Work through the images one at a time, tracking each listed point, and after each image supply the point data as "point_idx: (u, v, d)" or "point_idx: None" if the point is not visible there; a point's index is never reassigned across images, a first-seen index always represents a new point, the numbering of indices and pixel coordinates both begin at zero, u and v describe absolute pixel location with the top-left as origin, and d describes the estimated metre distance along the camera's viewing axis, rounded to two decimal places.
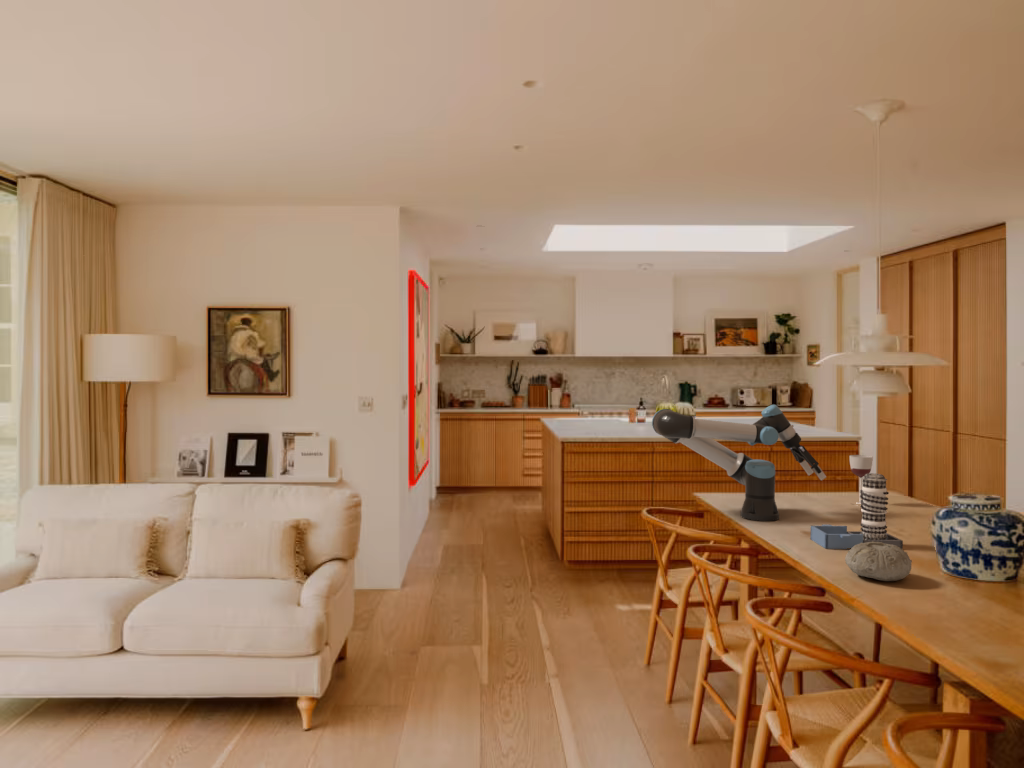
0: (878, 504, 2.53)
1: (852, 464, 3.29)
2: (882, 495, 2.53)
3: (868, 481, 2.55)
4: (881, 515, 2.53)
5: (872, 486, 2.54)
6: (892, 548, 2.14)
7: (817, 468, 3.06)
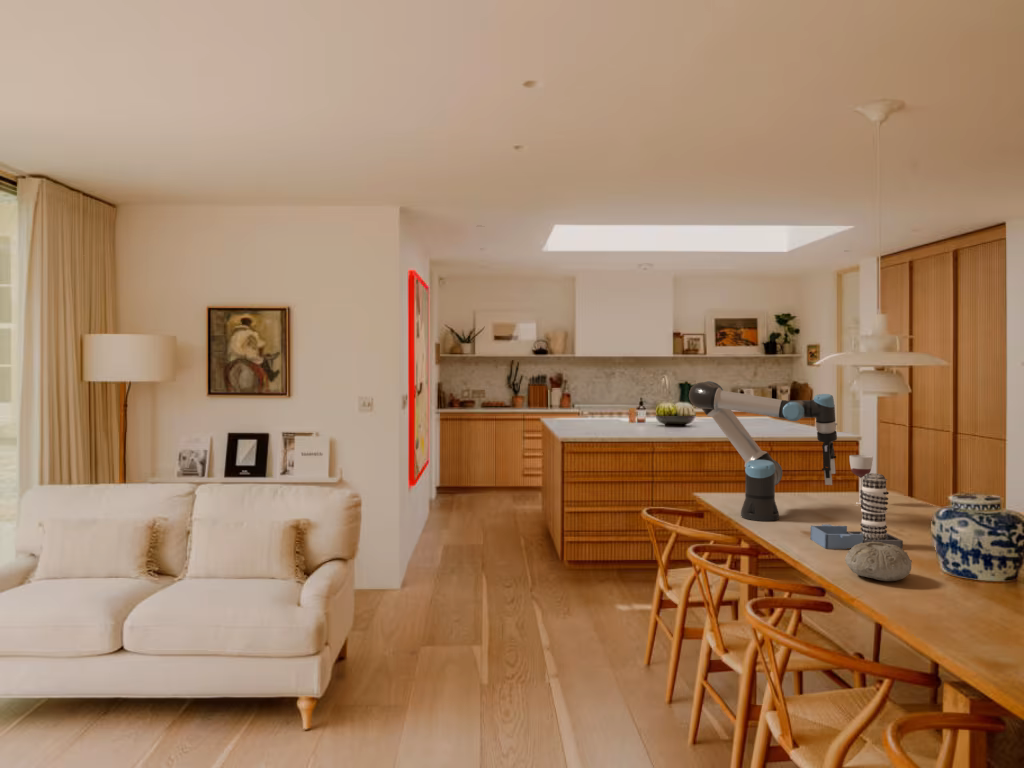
0: (878, 504, 2.53)
1: (852, 464, 3.29)
2: (882, 495, 2.53)
3: (868, 481, 2.55)
4: (881, 515, 2.53)
5: (872, 486, 2.54)
6: (892, 548, 2.14)
7: (827, 473, 2.98)
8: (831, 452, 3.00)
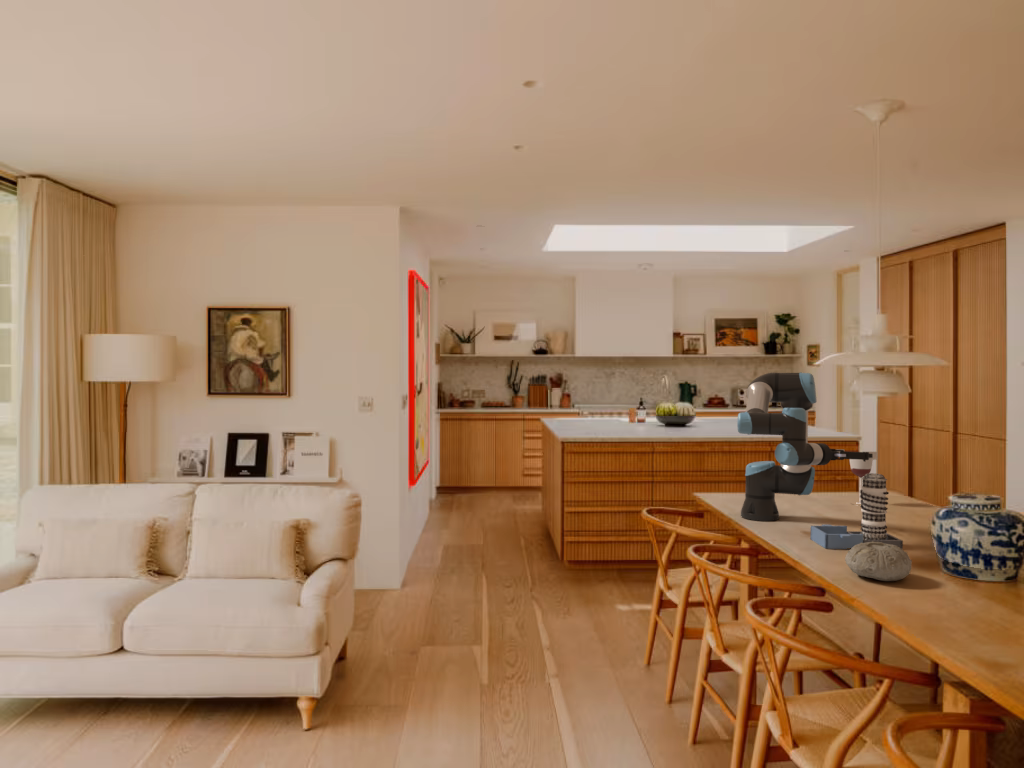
0: (878, 504, 2.53)
1: (852, 464, 3.29)
2: (882, 495, 2.53)
3: (868, 481, 2.55)
4: (881, 515, 2.53)
5: (872, 486, 2.54)
6: (892, 548, 2.14)
7: None
8: None
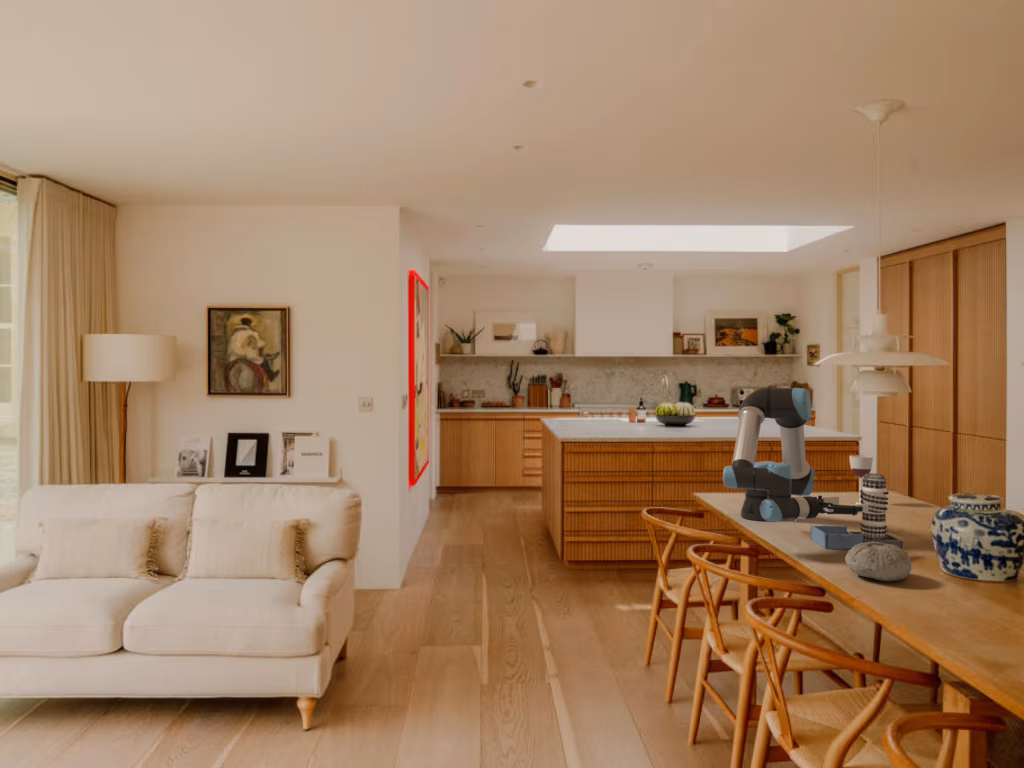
0: (878, 504, 2.53)
1: (852, 464, 3.29)
2: (882, 495, 2.53)
3: (868, 481, 2.55)
4: (881, 515, 2.53)
5: (872, 486, 2.54)
6: (892, 548, 2.14)
7: None
8: None
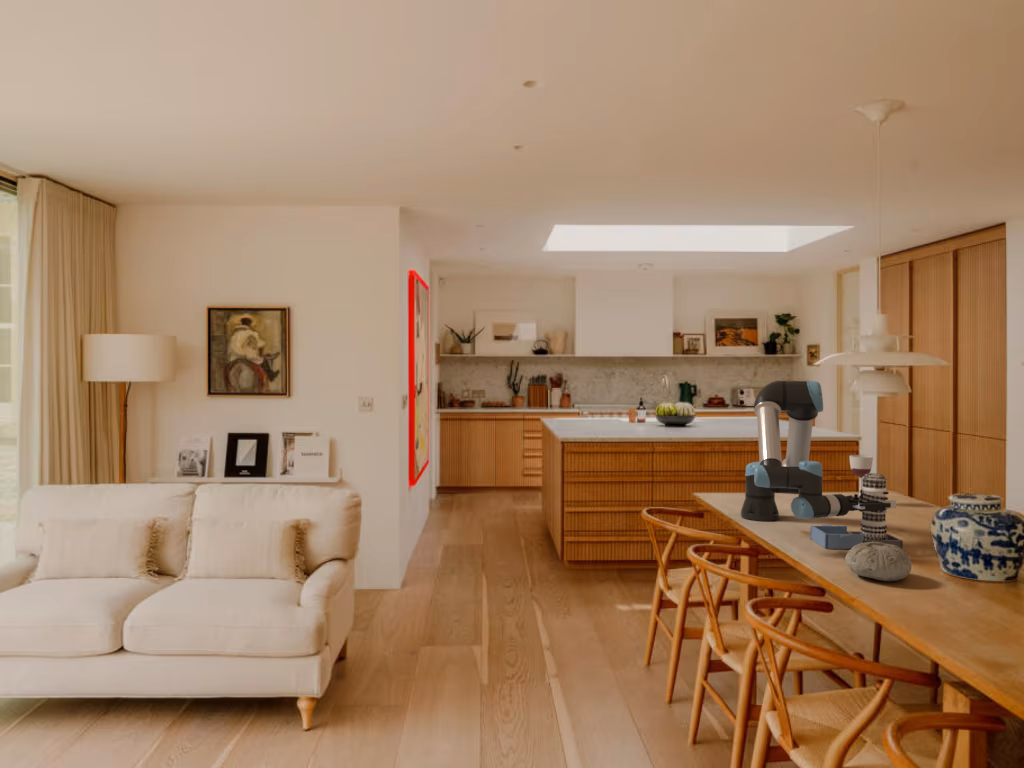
0: None
1: (852, 464, 3.29)
2: (882, 495, 2.53)
3: (868, 481, 2.55)
4: (881, 515, 2.53)
5: (872, 486, 2.54)
6: (892, 548, 2.14)
7: None
8: None
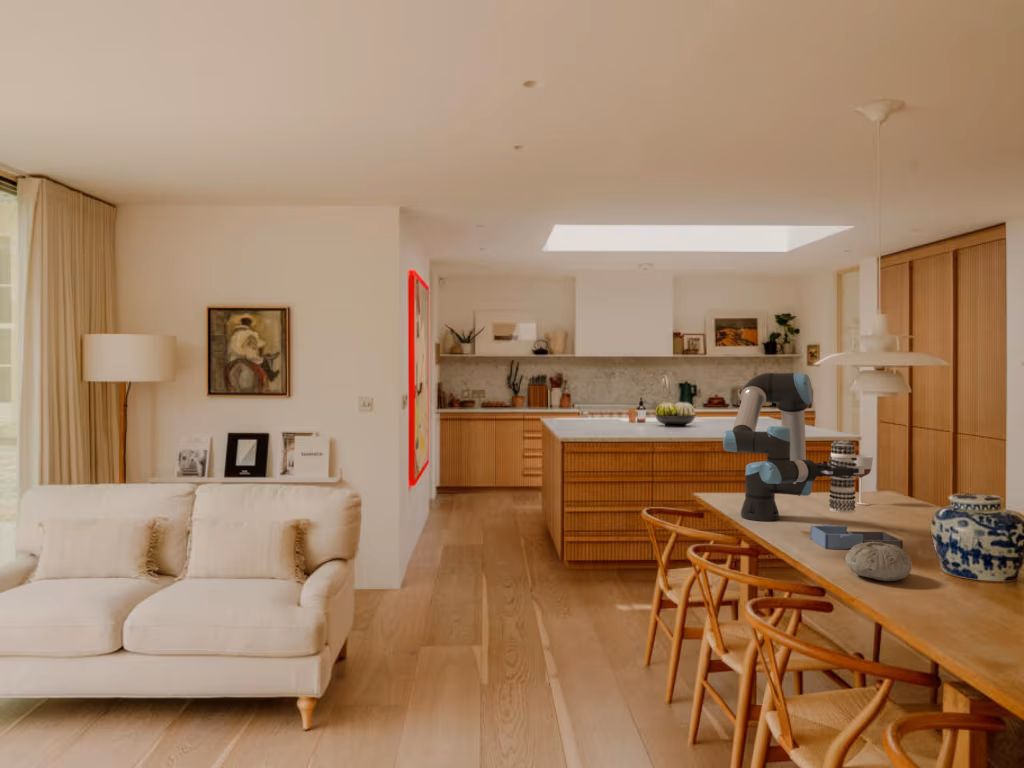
0: None
1: None
2: (850, 461, 2.53)
3: (836, 447, 2.55)
4: (849, 481, 2.53)
5: (840, 452, 2.54)
6: (892, 548, 2.14)
7: None
8: None
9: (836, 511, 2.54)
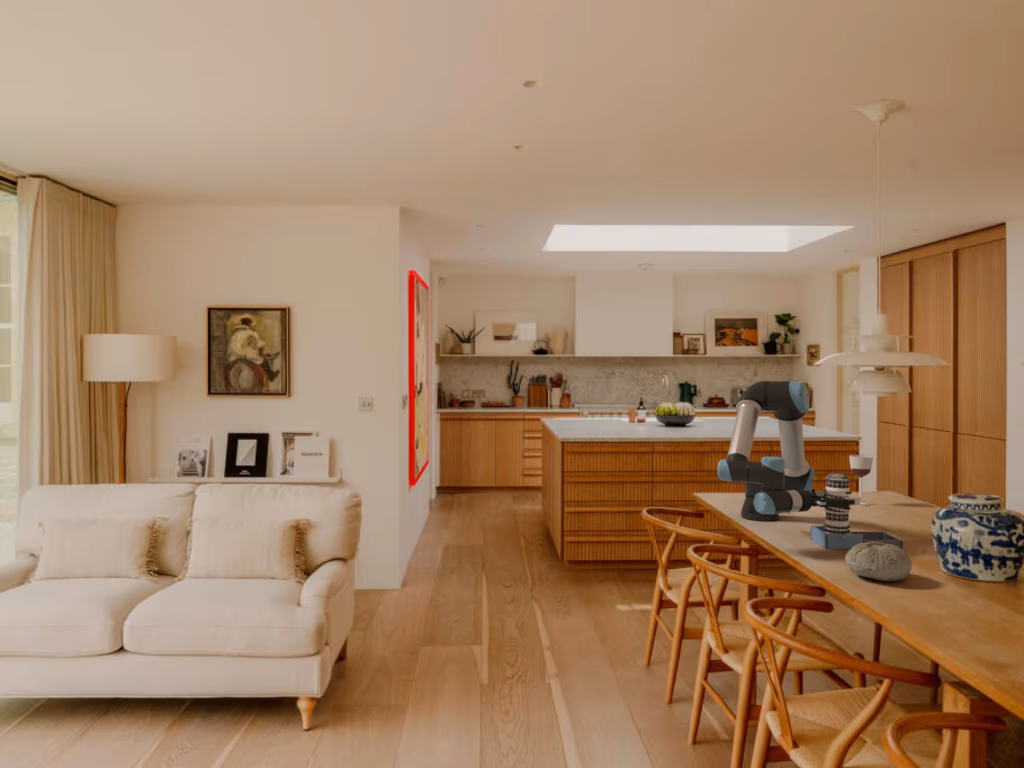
0: None
1: (852, 464, 3.29)
2: (845, 495, 2.54)
3: (831, 481, 2.55)
4: (844, 515, 2.54)
5: (835, 486, 2.54)
6: (892, 548, 2.14)
7: None
8: None
9: None
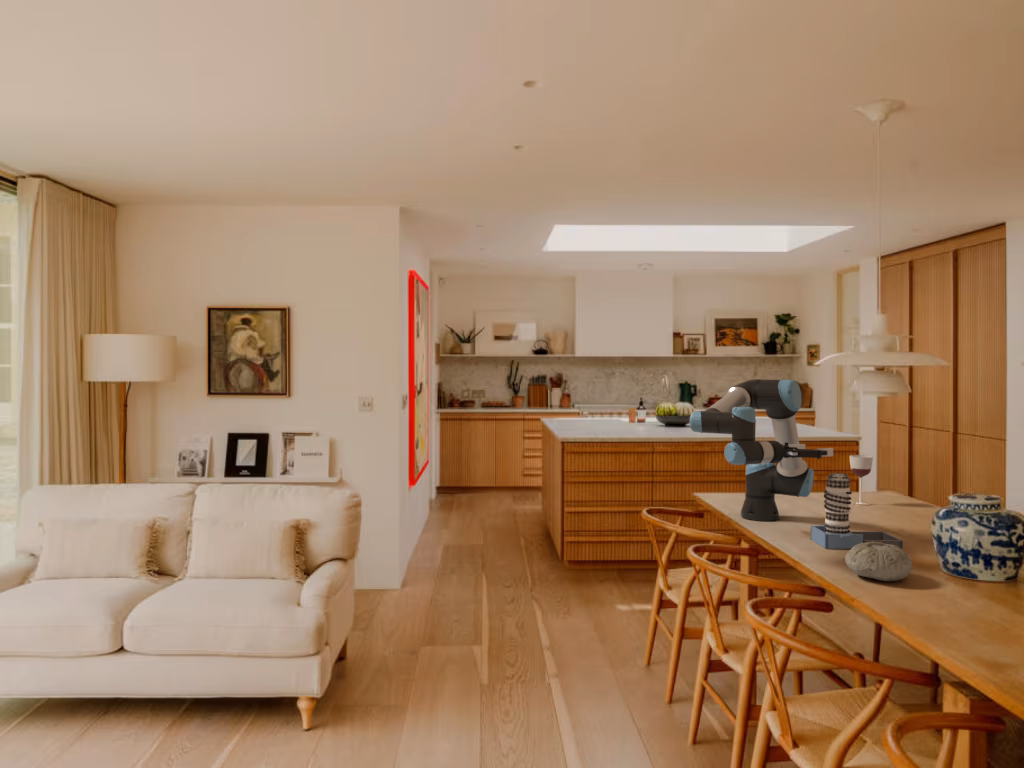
0: (841, 504, 2.53)
1: (852, 464, 3.29)
2: (845, 495, 2.54)
3: (831, 481, 2.55)
4: (844, 515, 2.54)
5: (835, 486, 2.54)
6: (892, 548, 2.14)
7: None
8: None
9: None
